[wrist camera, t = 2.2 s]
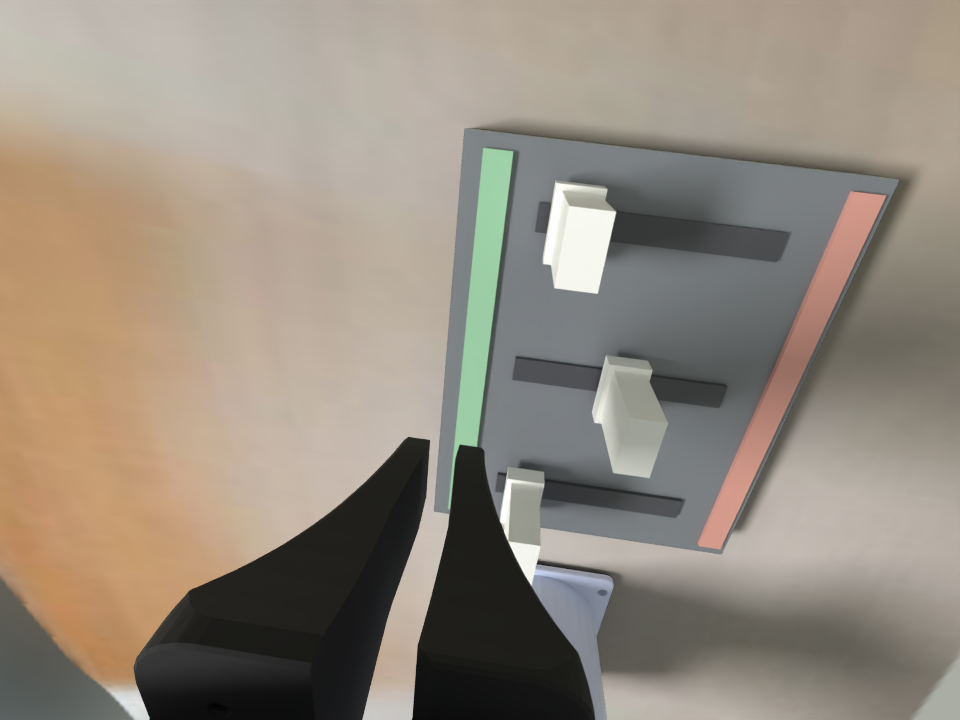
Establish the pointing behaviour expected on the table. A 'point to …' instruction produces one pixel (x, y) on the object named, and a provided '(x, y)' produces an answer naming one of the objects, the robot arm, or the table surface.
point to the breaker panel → (642, 324)
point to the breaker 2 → (578, 235)
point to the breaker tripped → (629, 415)
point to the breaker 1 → (523, 516)
